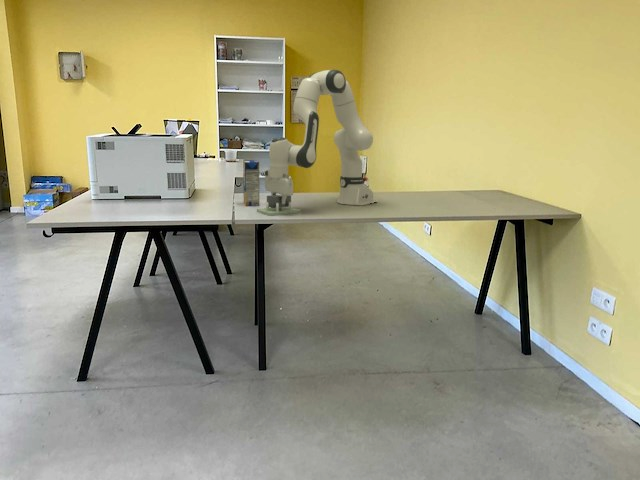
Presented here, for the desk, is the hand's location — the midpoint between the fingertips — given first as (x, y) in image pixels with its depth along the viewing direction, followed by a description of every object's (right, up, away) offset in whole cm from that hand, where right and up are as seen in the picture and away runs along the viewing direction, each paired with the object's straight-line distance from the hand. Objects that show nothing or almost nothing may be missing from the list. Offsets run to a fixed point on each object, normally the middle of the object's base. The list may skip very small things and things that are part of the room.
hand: (278, 202), depth 228 cm
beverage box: (-16, 0, +20) cm, 25 cm away
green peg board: (0, -4, +1) cm, 5 cm away
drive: (0, -2, 0) cm, 2 cm away
